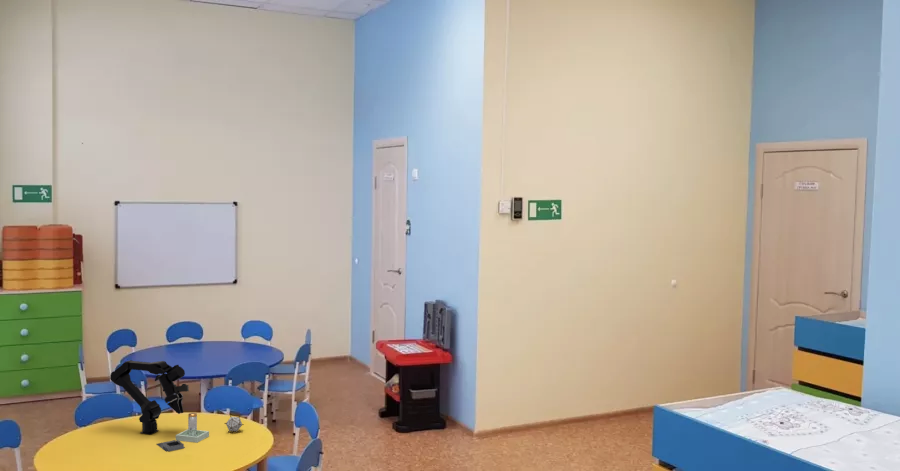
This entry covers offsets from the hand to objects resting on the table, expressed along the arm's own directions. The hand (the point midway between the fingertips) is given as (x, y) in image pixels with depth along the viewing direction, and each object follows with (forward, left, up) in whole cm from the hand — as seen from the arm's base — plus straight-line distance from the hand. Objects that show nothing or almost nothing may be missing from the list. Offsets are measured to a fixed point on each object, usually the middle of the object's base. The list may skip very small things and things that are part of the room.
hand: (181, 413), depth 379 cm
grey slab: (+6, -17, -12) cm, 21 cm away
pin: (+9, -4, -10) cm, 14 cm away
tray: (+9, -4, -12) cm, 15 cm away
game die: (+21, +14, -12) cm, 28 cm away
